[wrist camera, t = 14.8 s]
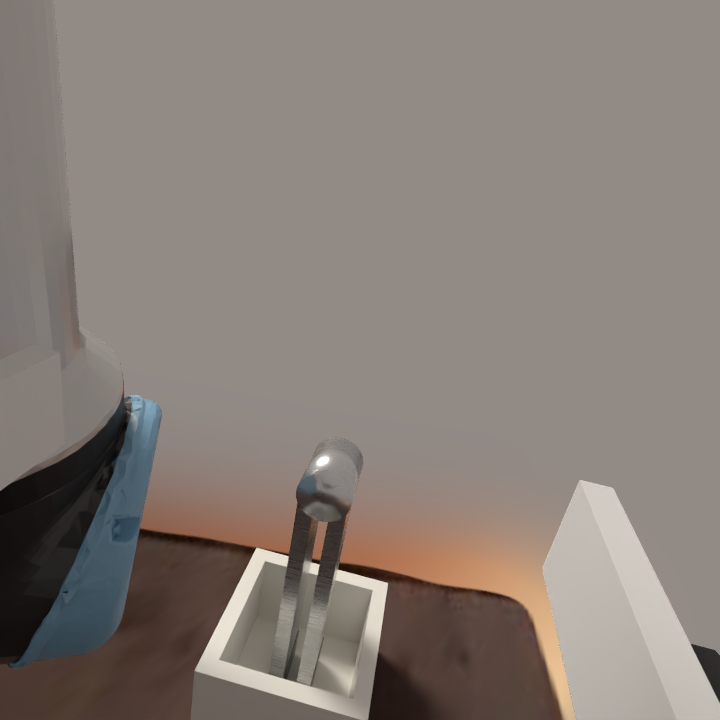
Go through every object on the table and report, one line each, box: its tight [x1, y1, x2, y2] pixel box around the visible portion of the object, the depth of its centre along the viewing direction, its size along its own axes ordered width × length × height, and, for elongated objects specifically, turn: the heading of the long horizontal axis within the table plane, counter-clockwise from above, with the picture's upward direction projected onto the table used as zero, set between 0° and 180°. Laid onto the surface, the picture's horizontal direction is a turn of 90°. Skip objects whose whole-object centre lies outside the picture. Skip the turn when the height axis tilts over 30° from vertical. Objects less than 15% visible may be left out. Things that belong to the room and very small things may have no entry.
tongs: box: [269, 437, 363, 687], centre depth 32 cm, size 3×5×18 cm, turn 171°
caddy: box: [191, 548, 388, 720], centre depth 34 cm, size 10×10×6 cm
